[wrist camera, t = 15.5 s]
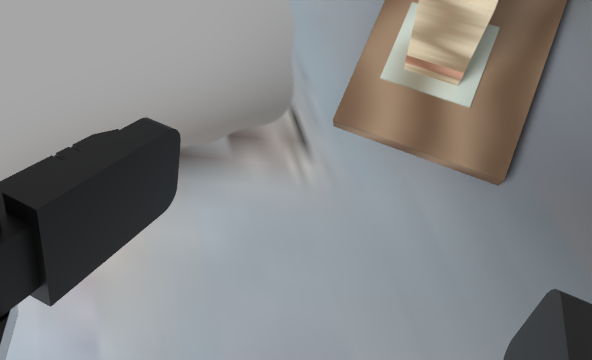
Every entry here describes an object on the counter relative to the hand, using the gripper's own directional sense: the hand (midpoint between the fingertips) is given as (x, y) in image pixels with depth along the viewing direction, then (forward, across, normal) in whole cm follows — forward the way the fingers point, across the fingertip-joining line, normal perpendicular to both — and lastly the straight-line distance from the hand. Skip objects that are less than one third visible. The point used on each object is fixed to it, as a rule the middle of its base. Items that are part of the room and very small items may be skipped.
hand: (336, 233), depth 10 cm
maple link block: (+32, 0, +4) cm, 32 cm away
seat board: (+35, 0, +4) cm, 35 cm away
